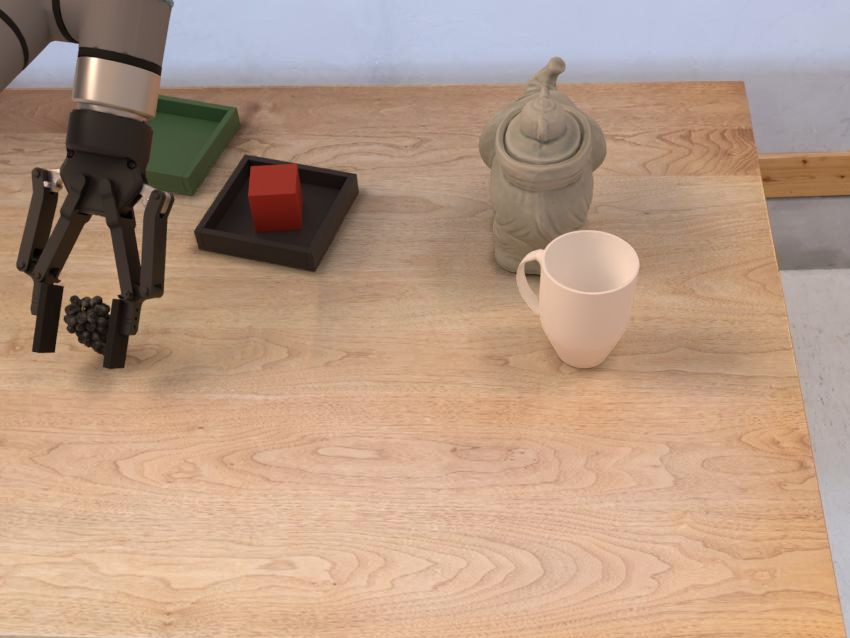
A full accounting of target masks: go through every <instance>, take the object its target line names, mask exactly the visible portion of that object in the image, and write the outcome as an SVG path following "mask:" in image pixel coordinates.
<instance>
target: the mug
mask: <svg viewBox="0 0 850 638" xmlns="http://www.w3.org/2000/svg"><path fill="white" fill-rule="evenodd" d="M532 260H537V261H538V262H539V263H540V266H541V275H540V280H539V292H538V293H539V294H538V296H536V293H534V291H533V290H532V288H531V286H530V285H529V282H528V280H527V277H526V273H525V272H524V265H525V263H526V262H529V261H532ZM639 271H640V259H639V255H638V253H637V252H636V250H635V249H634V248H633V246H632V245H631V244H630V243H628V242H627V241H626V240H625V239H624V238H623V239H622V238H621V237H619V236H617V235H615V234H613V233H610V232H606V231H600V230H594V229H591V230H590V229H588V230H581V231H574V232H570V233H566V234H564V235H561V236H559V237H557V238H556V239H554V240H553V241H551V242H550V243H549V244H548V245H547V247H546V248H545V250H541V249H539V250H535V251H532V252H530V253H529V254H527V255H526V256H525V257H524V259H523V260H522V261H521V263H520V265H519V267H518V270H517V273H516V274H515V276H516V278H515V281H516V286H517V289H518V292H519V295H520V296H521V298H522V300H523V301H524V302H525V304H526V305H527V306H528V308H529V309H530V310H531V311H532V312H533V313H534V314H535V315H536V316H537V317H538V318H539V320H540V325H541V327H542V330H543V332H544V335H546V337H547V339H548V341H549V342H550V344H551V346H552V348H553V349H554V351H555V353H556V355H557V356H558V358H559V359H560V360H561V361H562V362H563V363H565V364H566V365H568V366H570V367H573V368H577V369H590V368H594V367H595V368H596V367H597V366H600V365H601V364H602V363H603V362H604V361H605V360H606V359H607V358H608V356H609V355H610V353H611V352H612V351H613V349H614V348H615V347H616V345H617V344H618V343H619V341H621V339H622V338H623V336H624V334H625V332H626V331H627V328H628V325H629V322H630V319H631V315H632V310H633V306H634V299H635V295H636V288H637V283H638V278H639Z"/></svg>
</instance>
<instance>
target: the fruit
mask: <svg viewBox="0 0 850 638" xmlns="http://www.w3.org/2000/svg"><path fill="white" fill-rule="evenodd" d="M69 302H70V304H67V305H66V306H65V307H64V310H63V311H64V313H65V314H64V315H63V318H62V319H63V322H64V324H66V325H67V326H66V327H65V329H66V331H67V333H69V334H71V335H73V334H75V335H76V337H77V342H78V343H79V344H81V345H84V347H86V348H88V349H89V348H91V349H92V350H93V351H94V352H95V353H97V354H99V355H102V356H104V354H105V347H106V340H107V333H108V327H109V320H110V313H111V305H109V304H107V303H106V302H104V301H103V297H101V296H100V295H95V296H93V297H92V298H91V297H90V296H87V295H86V296H84V297H82V298H80V297H79V296H78V295H76V294H74V295H71V296H70V297H69Z"/></svg>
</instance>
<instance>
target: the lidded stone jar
mask: <svg viewBox="0 0 850 638" xmlns="http://www.w3.org/2000/svg"><path fill="white" fill-rule="evenodd" d="M565 71H566V62H565V60H564V59H562V58H561V57H559V56H553V57H550V59H549V60H548V63H547V64H546V65H545V66H544V67H543V68H541V69H540V70H538V71H537V72H536V73H535V74H534V75H533V76H531V78H530V79H529V80H528V82H527V84H526V87H525V90H524V94H523V96H520V97H518V98H516V99H514V100H512V101H510V102H509V103H508V104H507V105H505V106H504V107H502V108H500V109H499V110H498V111H496V112H495V113H494V114H493V115H492V116H491V117H490V118H489V120H488V121H487V122H486V123H485V125H484V127H483V128H482V130H481V133H480V136H479V139H478V150H479V151H478V152H479V155H480V158H481V160H482V162H483V164H485V165H486V166H487V167H488V168H489V170H490V174H489V183H488V195H489V202H490V204H491V209H492V211H493V212H492V213H493V215H494V219H493V222H492V235H493V238H494V241H495V246H494V247H495V248H494V257H495V261H496V263H497V265H498V266H499V267H501V268H502V269H504V270H505V271H509V272H511V273H516V274H517V270H518V267H519V265H520V263H521V261H522V260H523V259H524V257H525V256H526V255H527V254H529V253H530V252H532V251H535V250H539V249H541V250H545V248H546V247H547V245H548V244H549V243H550V242H551V241H553V240H554V239H556V238H557V237H559V236H561V235H564V234H566V233H570V232H574V231H581V230H589V220H588V214H589V210H590V208H591V204H592V202H593V195H594V175H593V173H594V172H595V171H597V169H599V168H600V167H601V166H602V165H603V163H604V161H605V159H606V157H607V141H606V138H605V134H604V131H603V130H602V127H601V125H600V124H599V122H598V121H597V120H595V119H594V118H593V117H592V116H590V115H589V114H587V113H586V112H584V111H582V110H581V109H580V108H579V107H578V106H577V105H576V104H575V102H574V101H573V99H571V98H570V97H569V96H568V95H566V94H565V93H563V92H560V91H558V87H557V80H558V77H559V76H560V75H561V74H562V73H564V72H565ZM524 272H525V275H526V274H527V275H528V274H529V275H539V276H541V266H540V263H539V262H538V261H537V260H532V261H529V262H526V263H525V265H524Z"/></svg>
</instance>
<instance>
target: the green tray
mask: <svg viewBox="0 0 850 638" xmlns="http://www.w3.org/2000/svg"><path fill="white" fill-rule="evenodd" d="M148 125H149V126H151V127H152V130H153V138H152V145H151V152H150V158H149V163H148V165H147V167H146V177H147V180H148V185H150V186H152V187H154V188H156V189H158V190H161V191H165V192H169V193H172V194H179V195H185V196H190V197H193V196H195V194H196V192H197V191H198V189H200V187H201V185H202V183H203V182H204V180H205V179H206V178H207V176H208V174H209V173H210V172H211V170H212V169H213V167H214V166H215V164H216V163H217V162H218V160H219V159H220V157H221V156H222V154H223V152H224V151H225V150H226V148H227V147H228V145H229V144H230V142H232V139H233V138H234V137H235V135H236V134H237V132H238V130H239V129H240V128H241V125H242V124H241V121H240V116H239V111H238V107H235V106H230V105H225V104H218V103H212V102H206V101H201V100H195V99H188V98H184V97H183V98H182V97H176V96H171V95H164V94H159V95H158V102H157V109H156V115H155V118H154V119H153V120H148Z"/></svg>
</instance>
